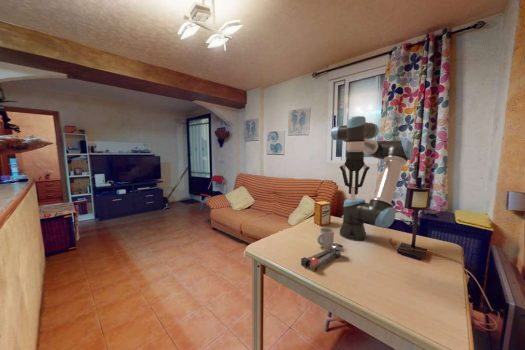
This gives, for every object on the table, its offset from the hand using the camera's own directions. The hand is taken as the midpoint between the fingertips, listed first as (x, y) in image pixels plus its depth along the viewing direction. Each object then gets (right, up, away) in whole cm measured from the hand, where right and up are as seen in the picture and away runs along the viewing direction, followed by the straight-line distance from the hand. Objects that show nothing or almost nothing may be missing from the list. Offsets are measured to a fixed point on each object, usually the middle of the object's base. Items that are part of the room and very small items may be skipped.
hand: (353, 200), depth 94 cm
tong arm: (-13, -29, 0) cm, 31 cm away
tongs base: (-14, -29, +1) cm, 32 cm away
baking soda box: (0, -23, +49) cm, 54 cm away
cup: (-9, -27, +16) cm, 33 cm away
